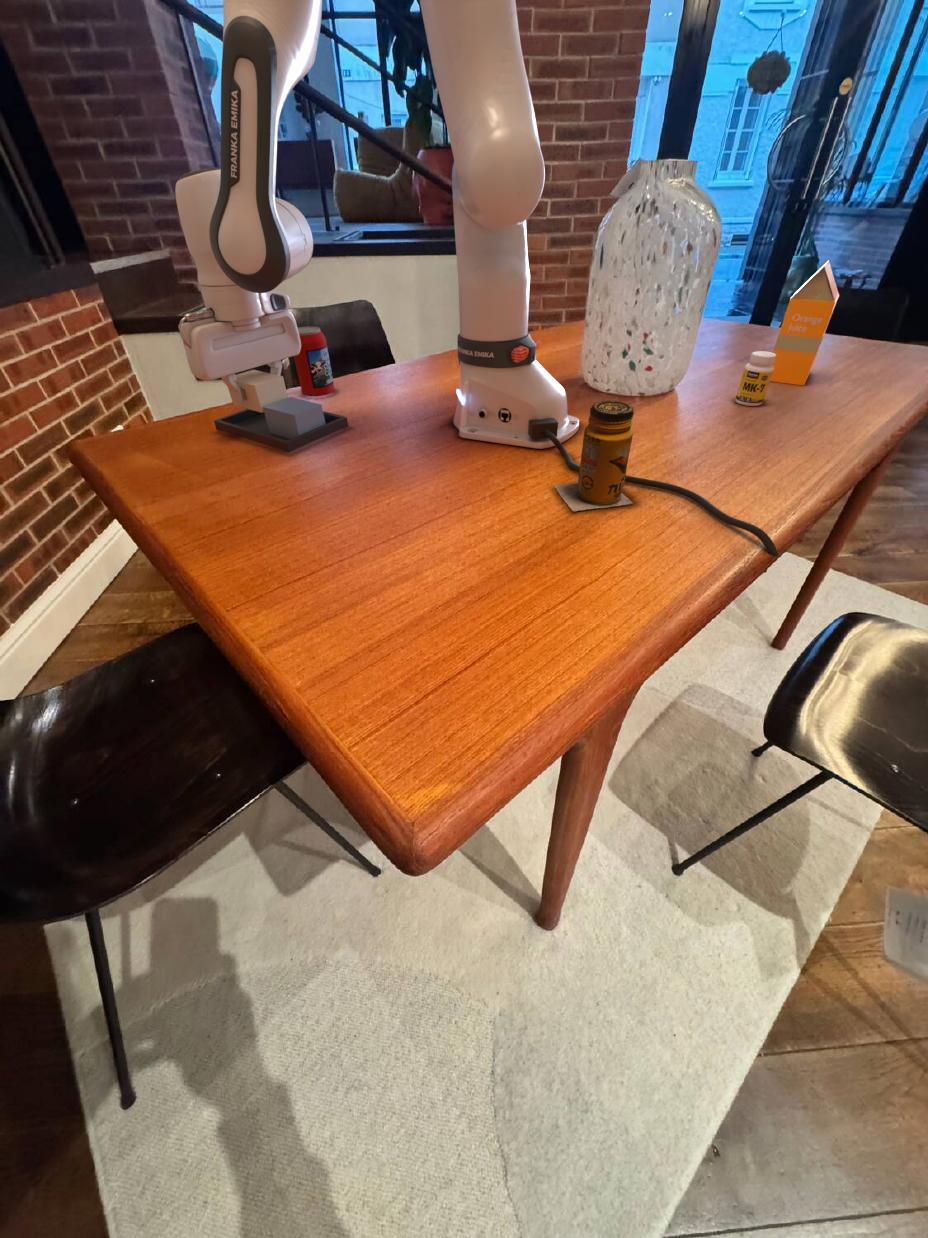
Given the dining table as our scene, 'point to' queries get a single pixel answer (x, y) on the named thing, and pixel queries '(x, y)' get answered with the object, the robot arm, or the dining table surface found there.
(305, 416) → the blue gray block
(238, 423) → the tray
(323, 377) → the beverage can
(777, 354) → the orange juice
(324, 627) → the dining table surface
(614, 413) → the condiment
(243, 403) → the beige block
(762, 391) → the supplement bottle
